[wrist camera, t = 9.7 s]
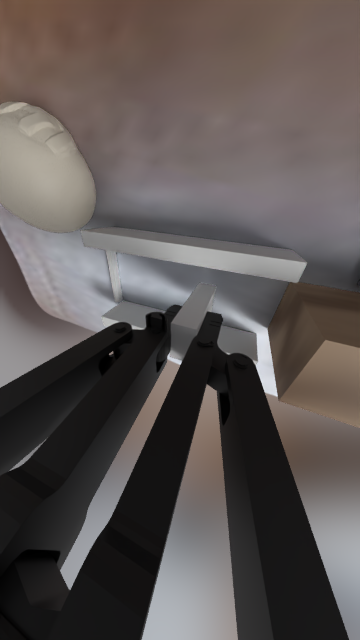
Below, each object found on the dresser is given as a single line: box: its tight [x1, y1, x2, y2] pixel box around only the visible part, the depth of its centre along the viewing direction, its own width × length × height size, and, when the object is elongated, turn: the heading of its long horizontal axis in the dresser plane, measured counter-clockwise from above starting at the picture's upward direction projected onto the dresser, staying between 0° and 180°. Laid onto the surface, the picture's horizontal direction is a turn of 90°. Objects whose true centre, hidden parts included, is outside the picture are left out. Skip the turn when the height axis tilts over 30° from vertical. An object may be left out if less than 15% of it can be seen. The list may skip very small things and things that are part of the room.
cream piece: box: [0, 102, 96, 233], centre depth 12 cm, size 7×7×7 cm
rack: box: [80, 227, 307, 366], centre depth 15 cm, size 9×17×4 cm, turn 86°
